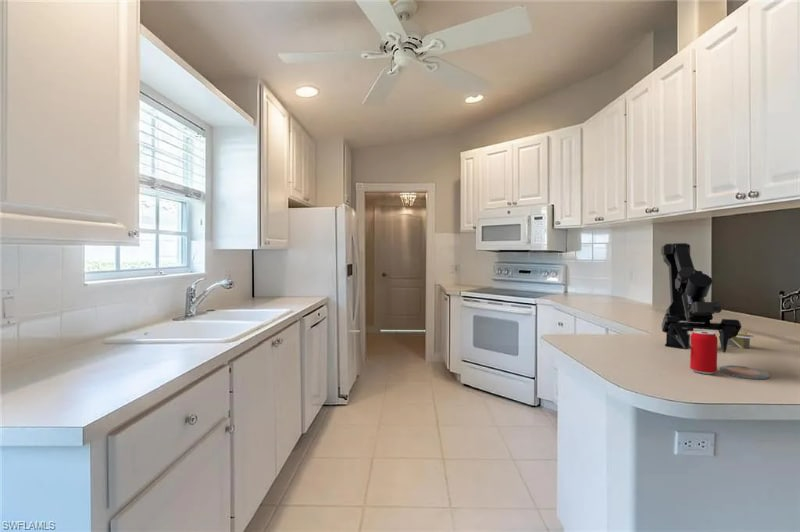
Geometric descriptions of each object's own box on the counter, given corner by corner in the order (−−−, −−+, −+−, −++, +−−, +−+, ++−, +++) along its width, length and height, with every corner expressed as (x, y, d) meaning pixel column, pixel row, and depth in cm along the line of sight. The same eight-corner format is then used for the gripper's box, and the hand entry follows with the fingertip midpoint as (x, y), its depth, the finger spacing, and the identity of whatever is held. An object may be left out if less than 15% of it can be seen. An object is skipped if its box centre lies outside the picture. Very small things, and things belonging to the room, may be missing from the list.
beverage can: (712, 370, 117) (714, 330, 116) (719, 376, 111) (720, 334, 111) (687, 367, 120) (688, 328, 119) (692, 373, 114) (693, 333, 113)
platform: (765, 356, 132) (766, 337, 132) (700, 346, 146) (700, 328, 146) (770, 349, 140) (771, 331, 140) (708, 340, 154) (708, 324, 154)
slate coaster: (716, 373, 114) (716, 371, 114) (721, 365, 122) (722, 363, 122) (768, 382, 106) (768, 379, 106) (770, 372, 114) (770, 370, 114)
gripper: (664, 290, 122) (671, 332, 112) (740, 292, 114) (754, 337, 105) (658, 311, 129) (665, 352, 120) (729, 314, 122) (742, 358, 112)
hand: (704, 350), depth 114 cm, fingers open, 9 cm apart
